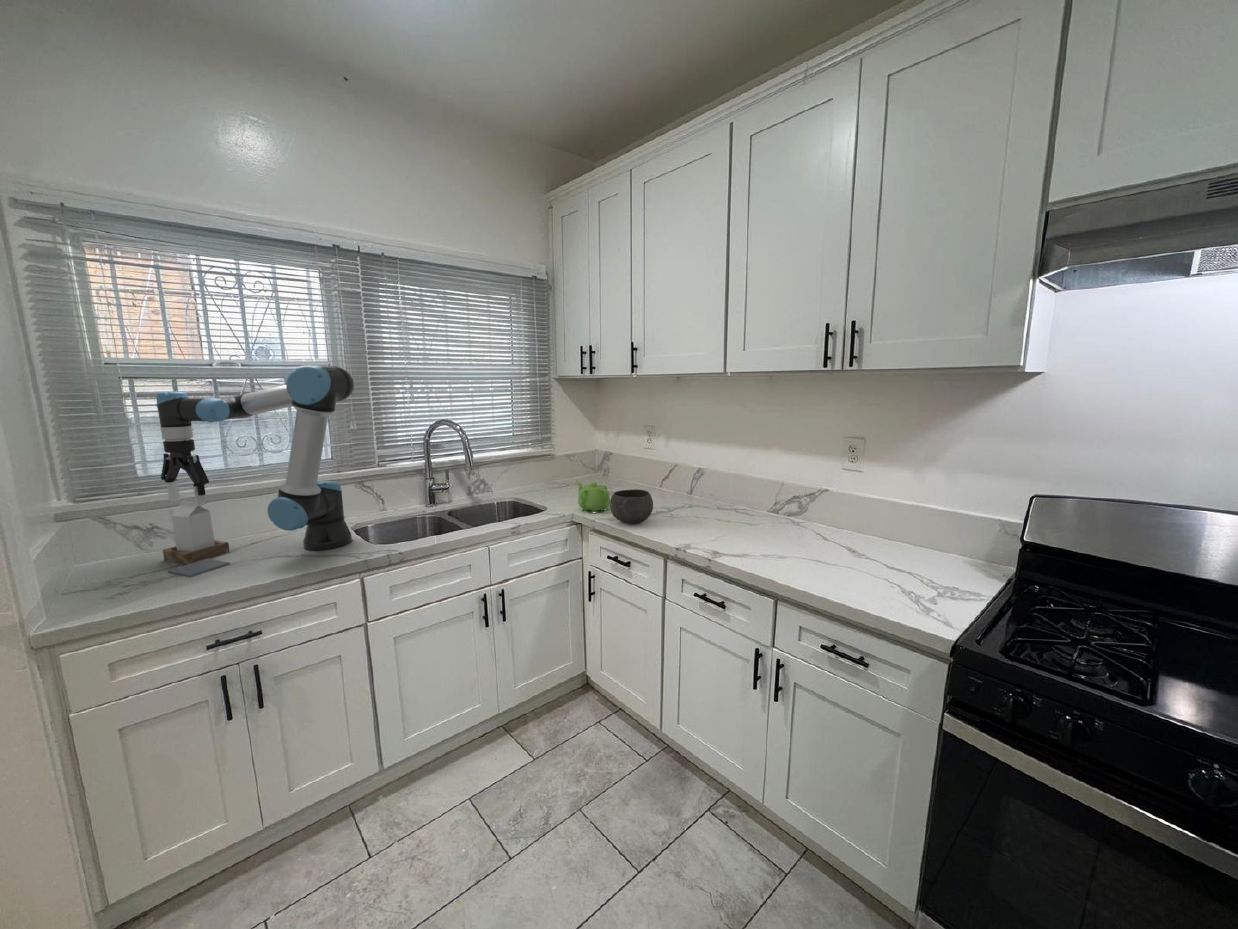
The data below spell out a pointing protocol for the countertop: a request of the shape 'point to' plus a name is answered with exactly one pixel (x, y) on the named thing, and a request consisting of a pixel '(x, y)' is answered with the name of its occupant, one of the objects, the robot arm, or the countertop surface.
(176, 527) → the milk carton
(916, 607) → the countertop surface
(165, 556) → the ring frame
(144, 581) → the countertop surface
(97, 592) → the countertop surface
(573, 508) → the countertop surface
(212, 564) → the slate mat
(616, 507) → the bowl
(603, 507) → the teapot
